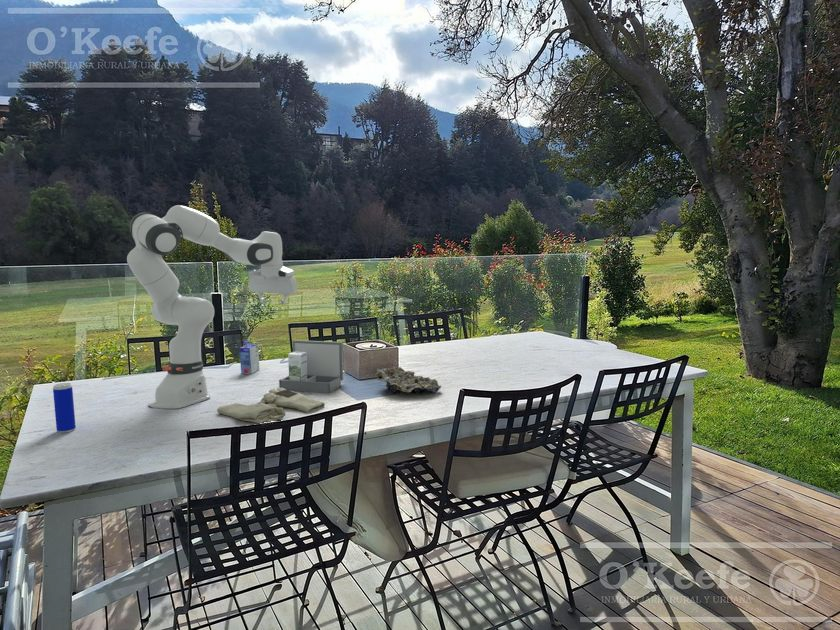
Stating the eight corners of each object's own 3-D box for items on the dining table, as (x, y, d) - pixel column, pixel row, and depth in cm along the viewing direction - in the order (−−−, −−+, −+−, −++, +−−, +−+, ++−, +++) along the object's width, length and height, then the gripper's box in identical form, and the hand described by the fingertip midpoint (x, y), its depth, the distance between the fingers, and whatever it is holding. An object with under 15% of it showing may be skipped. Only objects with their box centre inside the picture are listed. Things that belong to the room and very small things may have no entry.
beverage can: (79, 427, 184) (75, 382, 182) (69, 433, 178) (65, 386, 177) (62, 428, 183) (58, 382, 182) (53, 433, 178) (49, 386, 176)
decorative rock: (400, 400, 211) (398, 373, 211) (368, 393, 233) (366, 369, 233) (448, 392, 223) (446, 366, 223) (413, 386, 245) (411, 363, 245)
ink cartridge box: (248, 369, 268) (247, 338, 266) (260, 369, 267) (258, 338, 265) (240, 374, 258) (238, 342, 256) (251, 374, 257) (250, 342, 255)
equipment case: (330, 393, 224) (329, 348, 222) (279, 389, 230) (277, 345, 228) (343, 384, 238) (342, 342, 236) (295, 381, 243) (294, 340, 241)
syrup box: (308, 385, 236) (307, 351, 234) (301, 389, 230) (300, 354, 228) (295, 385, 237) (294, 350, 235) (288, 388, 232) (287, 353, 230)
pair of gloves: (283, 396, 221) (283, 383, 221) (327, 408, 205) (327, 394, 205) (213, 415, 198) (212, 400, 198) (256, 430, 182) (256, 414, 181)
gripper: (245, 270, 233) (246, 303, 237) (291, 273, 230) (292, 306, 233) (252, 268, 239) (254, 300, 243) (298, 271, 236) (298, 303, 239)
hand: (273, 303), depth 238 cm, fingers open, 8 cm apart
